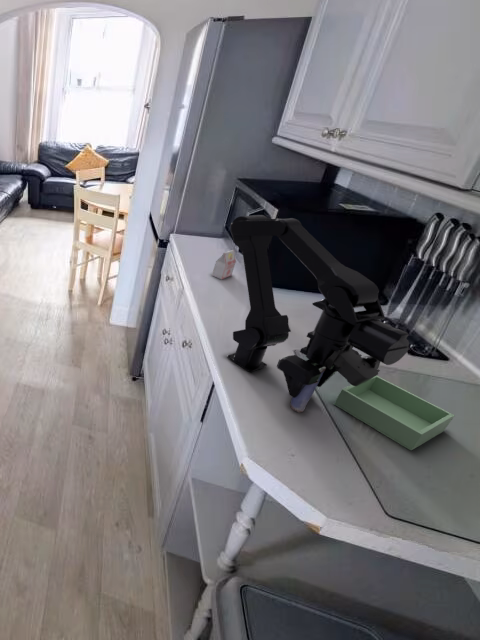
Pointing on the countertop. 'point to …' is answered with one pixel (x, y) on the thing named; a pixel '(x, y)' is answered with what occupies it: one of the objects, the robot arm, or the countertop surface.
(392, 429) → the bin
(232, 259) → the milk carton
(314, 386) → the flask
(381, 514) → the countertop surface
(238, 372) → the countertop surface
